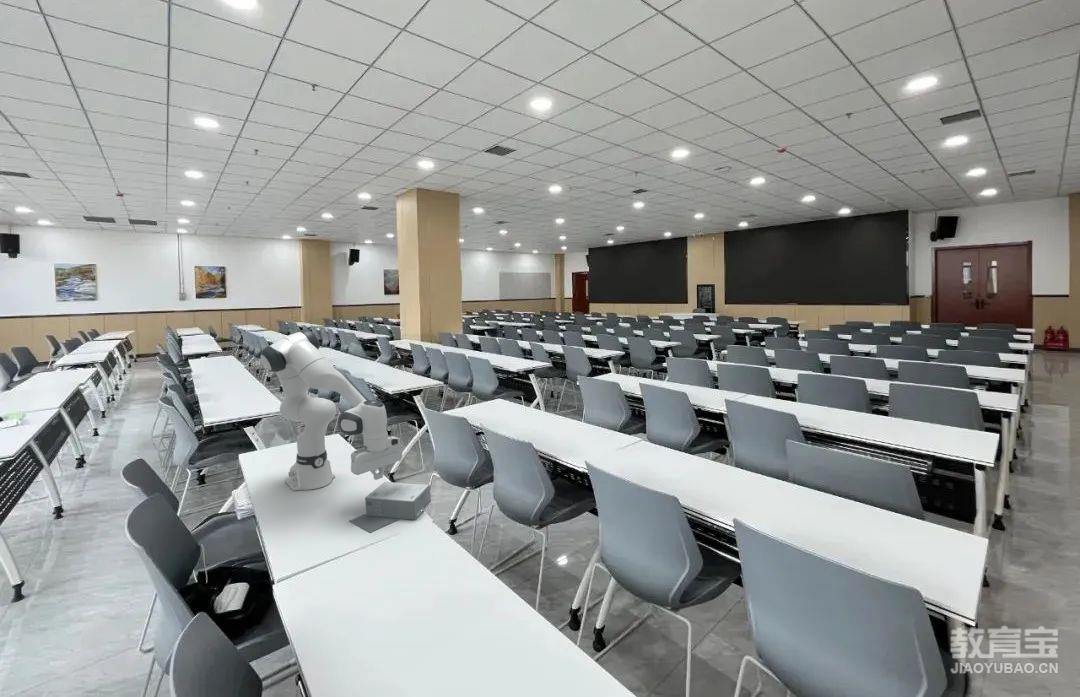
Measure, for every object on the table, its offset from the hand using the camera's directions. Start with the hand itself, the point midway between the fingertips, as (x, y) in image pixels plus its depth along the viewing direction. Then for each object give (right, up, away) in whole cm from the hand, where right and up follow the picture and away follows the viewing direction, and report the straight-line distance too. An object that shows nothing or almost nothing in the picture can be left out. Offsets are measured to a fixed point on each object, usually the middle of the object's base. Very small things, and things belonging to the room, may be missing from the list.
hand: (378, 478), depth 192 cm
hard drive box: (-3, -9, +6) cm, 12 cm away
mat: (+3, -14, 0) cm, 14 cm away
